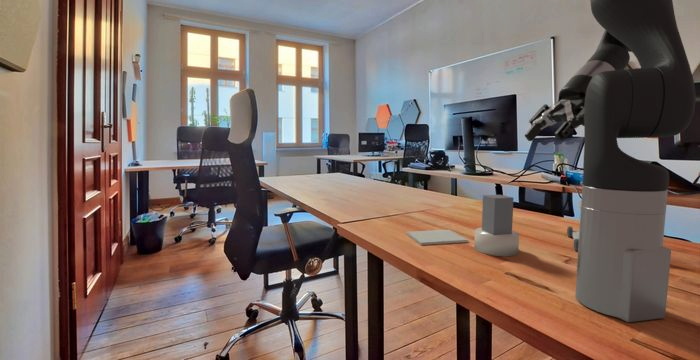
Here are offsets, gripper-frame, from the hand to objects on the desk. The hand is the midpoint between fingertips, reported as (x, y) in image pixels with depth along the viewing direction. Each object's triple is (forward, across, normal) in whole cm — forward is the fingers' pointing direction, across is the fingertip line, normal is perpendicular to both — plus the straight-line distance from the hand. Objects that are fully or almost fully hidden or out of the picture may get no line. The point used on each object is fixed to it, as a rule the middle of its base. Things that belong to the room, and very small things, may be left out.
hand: (542, 138), depth 73 cm
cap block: (+22, 0, +7) cm, 23 cm away
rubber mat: (+31, -12, +4) cm, 33 cm away
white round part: (+25, 0, +10) cm, 27 cm away
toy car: (+8, +2, +29) cm, 30 cm away
